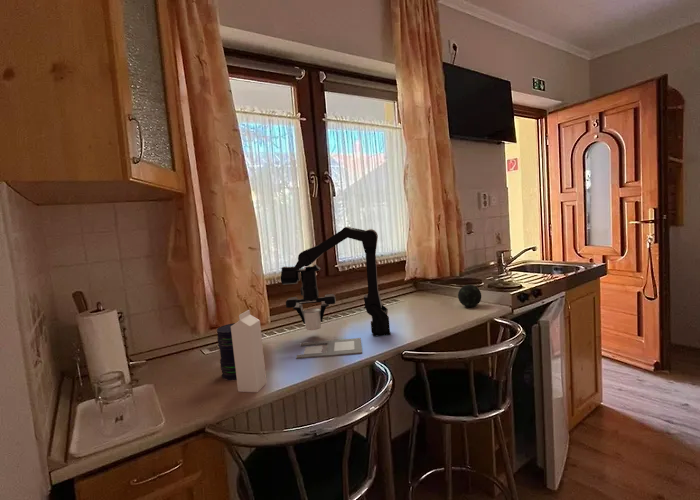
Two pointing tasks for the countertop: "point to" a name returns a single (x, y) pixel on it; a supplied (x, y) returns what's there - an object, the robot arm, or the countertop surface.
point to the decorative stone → (469, 295)
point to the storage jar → (226, 352)
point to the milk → (248, 353)
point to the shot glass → (312, 318)
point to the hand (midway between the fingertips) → (313, 322)
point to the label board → (332, 348)
